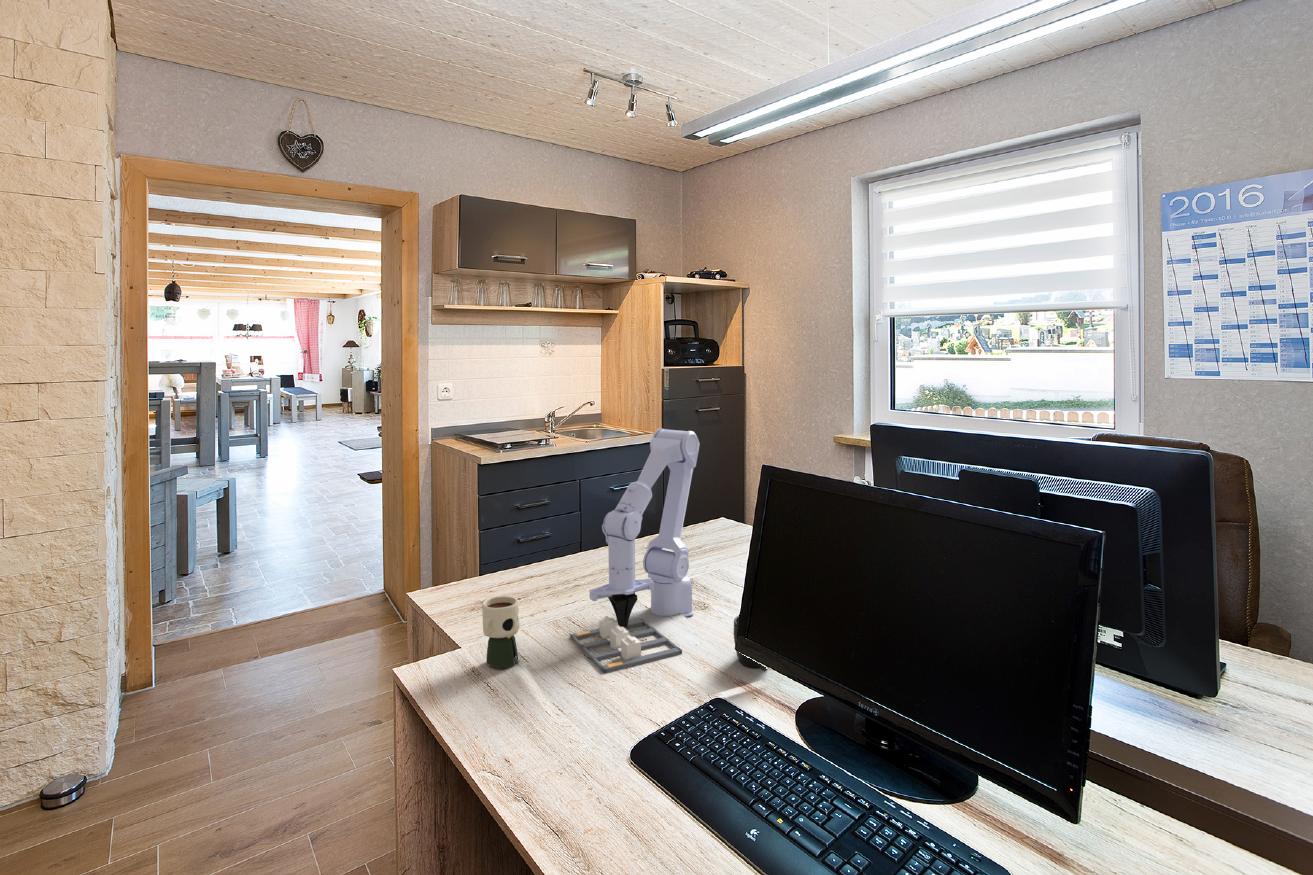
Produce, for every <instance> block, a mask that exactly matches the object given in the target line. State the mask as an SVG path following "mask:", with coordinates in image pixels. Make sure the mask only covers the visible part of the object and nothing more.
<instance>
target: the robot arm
mask: <svg viewBox="0 0 1313 875" xmlns="http://www.w3.org/2000/svg"><path fill="white" fill-rule="evenodd" d="M700 445H701V443H700V441H699V438H698V436H697V434H696V433H695V431H692V430H688V431H686V430H675V429H665V428H662V427H661V428H657V429H656V430H655V432H654V433H653V434H652V438H651V439H650V442H649V446H650V453H649V454H648V455H649V456H648V457H647V458H646V459H647V460H646V462H645V464H644V465H643V468H642V471H641V473H640V474H639V476H638V479H637V481H633V482H630V483H629V484H628V486H627V488H626V490H625V492H624V493H623V494H622V497H621V499H620V500H619V502H618V504H617V505H616V507H615V509H613V510H611V511H609V512H608V513H606V514H605V517H604V519H603V523H602V524H601V529H602V533H603V534H604V536H605V542H606V544H607V545H608V547H607V548H608V549H607V550H608V551H607V552H608V583H606V584H604V585H601V586H599V587H596V588H592V589H589V592H588V593H589V599H590V600H591V601H592V602H597V601H598V600H602V599H606V598H607V599H608V601H609V602H610V604H611V606H612V608H613V612H614V615H615V617H616V621H617V622H618V625H619V626H620V627H624V628H625V627H627V626H628V622H630V621H629V620H630V617H631V615H632V614H631V613H632V612H633V611H632V610H633V609H634V606H635V604H637V602H638V595H637V594H636V593H637V592H643V591H646V590H648V591H650V612H651V613H652V614H654V615H656V616H661V617H671V616H676V615H679V614H681V616H682V615H683V617H690V616H694V615H695V613H694V612H693V587H692V586H693V585H692V581H691V579H690V578H689V576H687V574H688V572H689V568H690V564H689V553H690V549H689V547H688V546H687V545H686V544H685V543H684V541H682V539H681V538H682V534H683V528H684V522H685V516H686V512H687V507H688V506H687V505H688V499H689V495H690V489H691V488H690V487H691V483H692V477H693V473H694V469H695V468H696V467H697V463H698V462H697V461H698V456H699V450H700ZM666 467H668V469H669V471H670V472H669V478H668V484H667V488H666V492H665V493H666V494H665V499H664V504H663V510H662V511H663V512H662V516H661V521H660V527H659V533H658V535H657V536H655V537H654V538H653V539H652V540H649V542H648V546H647V549H646V551H645V553H644V554H643V558H642V559H643V560H642V567H643V570H644V571H645V572H644V573H647V578H645V579H636V538H637V537H638V536H639V534H640V532H641V529H642V521H643V514H644V512H645V510H646V509H647V507H648V505H649V503H650V502H651V500H652V498H653V493H652V492H653V491H652V488H653V486H654V485H655V483H656V482H657V480H658V479H659V477H660V476H661V475H662V473H663V471H664V469H665V468H666ZM665 549H667V550H665Z"/></svg>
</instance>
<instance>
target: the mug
mask: <svg viewBox="0 0 1313 875" xmlns="http://www.w3.org/2000/svg"><path fill="white" fill-rule="evenodd" d="M738 619H739V615H736V617H735V618H734V619H733V640H734V642H733V643H734V647H735V652H736V655H737V659H738V662H739V664H740V665H741V666H743V667H745V668H749V669H753V670H754V669H760V670H762V671H763V672H767V670H768V669H766V667H764V666H762V665H761V664H758V663H757V662H755V661H753V660H752V659H750V658H747V657H746V656H744V655H742V654H741V653H739V652H738V651H737V650H736V642H737V621H738Z"/></svg>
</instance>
